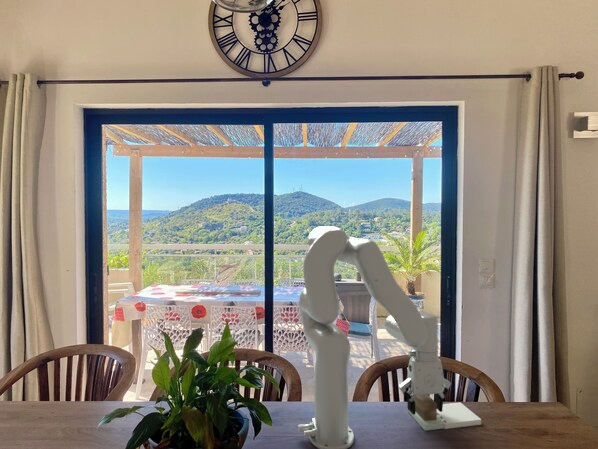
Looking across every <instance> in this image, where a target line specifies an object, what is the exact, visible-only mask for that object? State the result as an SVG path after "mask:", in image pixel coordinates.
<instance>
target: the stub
mask: <svg viewBox="0 0 598 449" xmlns="http://www.w3.org/2000/svg"><path fill="white" fill-rule="evenodd" d="M414 401H415V415H413V414H412V413H411V412H410V411H409V410H408V409H407V410H408V413H409V414H410V416H411V417H412V418H413V419H414V420H415V421H416V422H417V423H418V424H419V426H420V427H421V428H422V429H423V430H424V431H425V432H426V431H433V430H441V429H445V428H444V423H443V422H442V421H441V420H440V419H439V418H438V417H437V403H436V402H435V399H433V398H432V397H430V396H429V395H416V397H415V399H414Z"/></svg>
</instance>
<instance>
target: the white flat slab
mask: <svg viewBox="0 0 598 449" xmlns="http://www.w3.org/2000/svg"><path fill="white" fill-rule="evenodd" d="M437 417H438V418H439V419H440V420H441V421H442V422H443V423H444V428H443V429H445V430H447V429H455V428H463V427H473V426H481V425H482V419H481V418H480V417H479V416H478V415H476V414H475V413H474V412H473V411H472V410H470V409H469V408H468V407H467V406H465V405H464V404H463V403H462V402H451V403H443V407H442V412H440V411H439V410H438V409H437Z"/></svg>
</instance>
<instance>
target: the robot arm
mask: <svg viewBox="0 0 598 449" xmlns="http://www.w3.org/2000/svg"><path fill="white" fill-rule="evenodd" d="M307 240H308V245H309V249H308V251H307V253H306V254H305V255H306V256H305V257H304V260H303V270H302V271H303V280H304V288H303V290H302V291H301V292H300V296H299V311H300V315H301V321H302V326H303V332H304V335H305V336H304V337H305V340H306V342H307V343H308V345H309V347H311V348H312V350H313V351H314V352H315V357H316V358H315V363H314V364H315V365H314V370H313V383H314V384H313V387H314V388H313V389H314V393H313V396H314V417H312V418H311V421H310V422H308V423H302V424H301V423H300V424H298V425H297V428H298V429H297V430H298V433H303V435H304V437H309V441H310V443H311V444H312V445H313V446H314V447H316V448H317V449H348V448H350V447H351V446H352V445H353V443H354V442H355V436H354V435H355V434H354V432H353V429H352V428H350V427H349V378H348V377H349V376H348V374H349V362H350V355H351V343H350V340H349V338H348V336H347V334H346V333H345V332H344V331H343V330H342V329H340V327H338V325H336V324H334V322H335V321H336V320H337V319H338V317H339V315H340V311H341V310H340V302H339V296H338V291H337V286H336V281H335V280H336V279H335V265H336V262H337V261H339V262H342V263H347V264H349V265H353V266H355V268H356V270H357V271H358V273H359V275H360V278H361V280H362V282H363V283H364V286H365V287H366V290H367V291H368V293H369V295H370V296H371V297H372V298H373V299H374V301H375V302H377V303H378V304H379V305H380V306H382V307H383V309H385V310H386V312H388V314H389V315H388V316H387V317H386V319H385V320H384V329H385V331H386V332H387V333H388V335H389V336H391V337H393V338H394V339H396V340H398V341H399V342H401V343H403V344H405V345H406V346H407V347H410V348H411V350H410V351H408V352H407V353H408V357H410V358H409V362H408V370H407V377H406V379H405V380H404V381H403V382H402V383H400V384H399V385H398V389H399V390H400V392H401V394H403V395H404V397H406V400H407V402H406V403H407V410H409V411H410V412H411V413H412V414H413V415H415V401H414V399H415V397H416V395H428V396H429V395H434V401H435V402H436V403H437V409H438V410H439V411H440V412H442V407H443V404H444V398H445V397H446V396H445V395H446V394H447V393H448V392H449V388H450V387H451V385H452V382H451V381H449V380H448V379H446V378H445V377H444V370H443V364H442V360H441V359H440V358H439V328H438V327H439V326H438V324H439V322H438V318H437V316H436V314H435V315H434V314H432V313H429V312H420V311H419V310H418V308H417V306H416V305H415V304H414V301H413V300H411V298H410V297H409V296H408V295H407V293H406V292H405V291H404V289H403V288H402V286H400V285H399V283H397V281H396V279H395V277H394V276H393V274H392V271H391V269H390V267H389V265H388V263H387V261H386V259H385V257H384V254H383V253H382V251H381V249H380V247H379V245H378V244H377V243H376V242H375V241H373V240H372V239H369V238H361V237H354V236H350V235H348V234H346V232H345V231H344V229H342V228H340V227H338V226H330V225H329V226H326V225H325V226H317V227H315V228H313V229H312V231H310V233H309V234H308V239H307ZM407 388H408V390H406V389H407Z"/></svg>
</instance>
